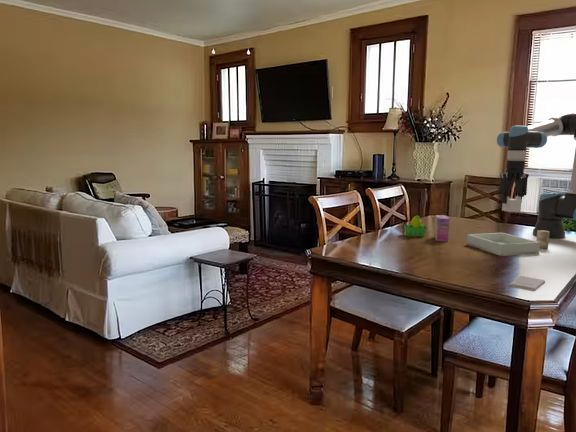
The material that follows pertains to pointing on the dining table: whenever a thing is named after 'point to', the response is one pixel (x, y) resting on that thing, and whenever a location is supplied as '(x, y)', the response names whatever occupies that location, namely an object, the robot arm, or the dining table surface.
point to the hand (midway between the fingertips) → (511, 210)
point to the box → (441, 228)
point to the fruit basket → (415, 228)
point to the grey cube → (514, 205)
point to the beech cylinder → (543, 238)
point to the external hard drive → (527, 283)
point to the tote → (503, 244)
